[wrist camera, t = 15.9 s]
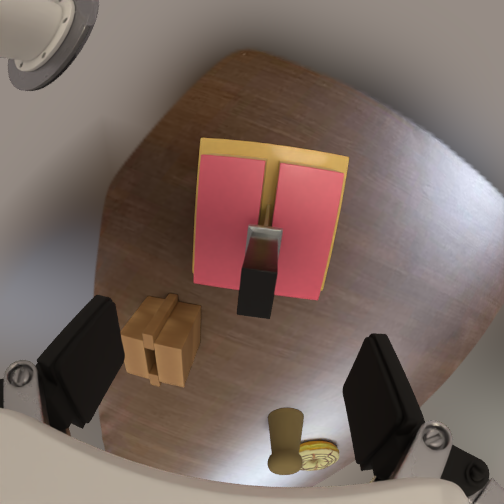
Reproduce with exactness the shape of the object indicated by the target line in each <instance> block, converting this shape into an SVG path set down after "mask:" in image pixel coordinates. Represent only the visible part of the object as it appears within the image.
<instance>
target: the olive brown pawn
mask: <svg viewBox="0 0 504 504" xmlns="http://www.w3.org/2000/svg"><path fill="white" fill-rule="evenodd" d="M303 419H304V416H303V414H302V412H301V411H299V410H297V409H293V408H281V409H277V410H274V411H272V412H271V413H270V414H269V416H268V422H269V431H270V441H271V450H272V454H271V455H270V457H269V459H268V467H269V469H270V471H271V472H273V473H275V474H279V475H290V474H294V473H296V472H298V471H299V470H300V469H301V467H302V464H303V462H302V457H301V455H300V454H299V449H300V442H301V435H302V427H303Z"/></svg>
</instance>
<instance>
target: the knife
mask: <svg viewBox="0 0 504 504" xmlns="http://www.w3.org/2000/svg"><path fill="white" fill-rule="evenodd" d="M269 211H270V204H267V209H266V215H265V222H264V226H263V225H256V224H249V225H248V232H247V241H246V249H245V258H244V261H243V265H242V268H241V278H240V287H239V296H238V306H237V315H244V316H251V317H258V318H266V319H270V316H271V310H272V304H273V299H274V293H275V287H276V281H277V275H278V259H279V252H280V246H281V240H282V233H283V228H278V227H271V226H268V221H269Z"/></svg>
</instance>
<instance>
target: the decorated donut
mask: <svg viewBox="0 0 504 504" xmlns="http://www.w3.org/2000/svg"><path fill="white" fill-rule="evenodd" d="M299 454H300V455H301V457H302V462H303V464H302V467H301V469H300V470H308V471H313V470H320V469H324V468H326V467H328V466H330V465H332V464H334V463H335V462H336V461H337V460H338V459H339V450H338V449H337V447H336V446H335V445H334V444H332V443H330V442H326V441H308V442H305V443H302V444H300V449H299Z"/></svg>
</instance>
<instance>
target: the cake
mask: <svg viewBox="0 0 504 504" xmlns="http://www.w3.org/2000/svg"><path fill="white" fill-rule="evenodd" d="M348 162H349V157H346V156H341V155H336V154H331V153H325V152H320V151H314V150H308V149H302V148H295V147H289V146H282V145H274V144H266V143H258V142H248V141H238V140H227V139H214V138H201V141H200V151H199V162H198V175H197V188H196V203H195V220H194V241H193V271H192V272H193V273H194V283H196V284H202V285H209V286H215V287H222V288H228V289H235V290H239V287H240V278H241V268H242V265H243V261H244V258H245V249H246V241H247V232H248V225H249V224H256V225H263V226H264V222H265V215H266V209H267V204H270V211H269V221H268V226H271V227H278V228H283V233H282V240H281V246H280V252H279V259H278V275H277V281H276V287H275V293H274V295H279V296H287V297H295V298H303V299H312V300H318V298H319V294H320V290H323V286H324V282H325V278H326V274H327V270H328V266H329V261H330V257H331V253H332V248H333V243H334V239H335V234H336V229H337V224H338V219H339V214H340V209H341V204H342V198H343V193H344V187H345V181H346V175H347V169H348Z"/></svg>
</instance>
